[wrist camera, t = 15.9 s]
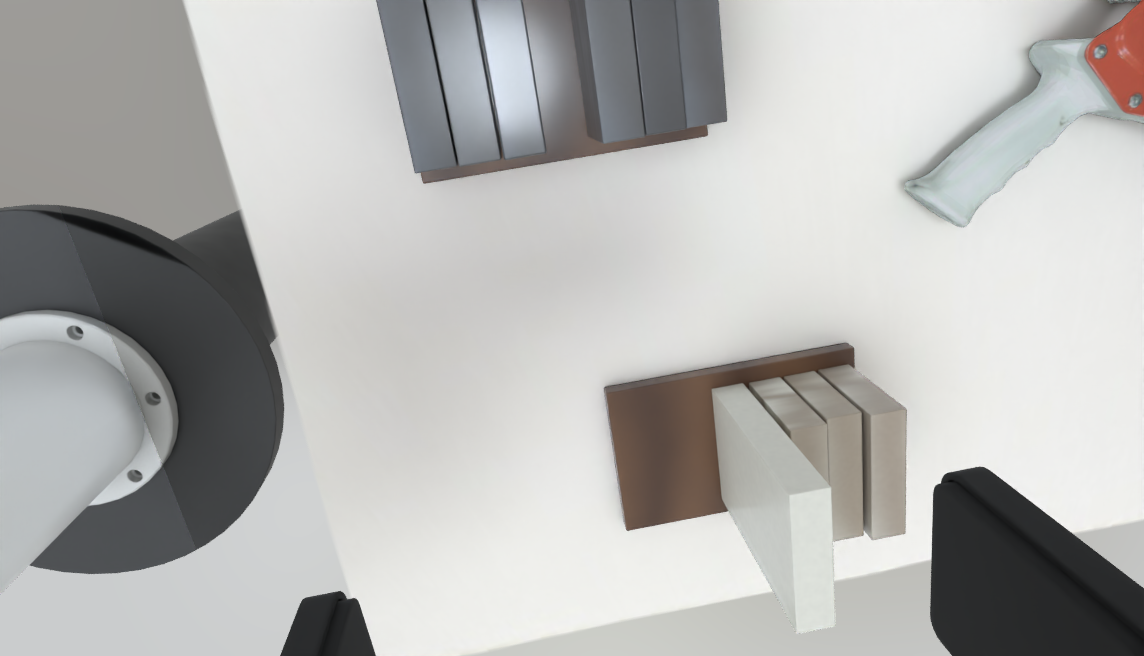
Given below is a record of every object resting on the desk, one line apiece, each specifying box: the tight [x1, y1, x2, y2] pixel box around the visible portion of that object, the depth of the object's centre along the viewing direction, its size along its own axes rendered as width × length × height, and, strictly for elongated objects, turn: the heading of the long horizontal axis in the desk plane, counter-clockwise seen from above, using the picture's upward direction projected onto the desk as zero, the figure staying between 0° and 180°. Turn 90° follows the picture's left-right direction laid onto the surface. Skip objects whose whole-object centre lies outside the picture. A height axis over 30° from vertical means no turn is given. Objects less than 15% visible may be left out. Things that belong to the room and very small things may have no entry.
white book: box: [712, 383, 836, 634], centre depth 38 cm, size 2×8×12 cm, turn 9°
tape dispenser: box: [904, 0, 1144, 227], centre depth 38 cm, size 18×5×20 cm
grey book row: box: [376, 0, 727, 183], centre depth 34 cm, size 16×10×6 cm, turn 99°
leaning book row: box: [604, 343, 907, 541], centre depth 42 cm, size 16×10×8 cm, turn 99°
